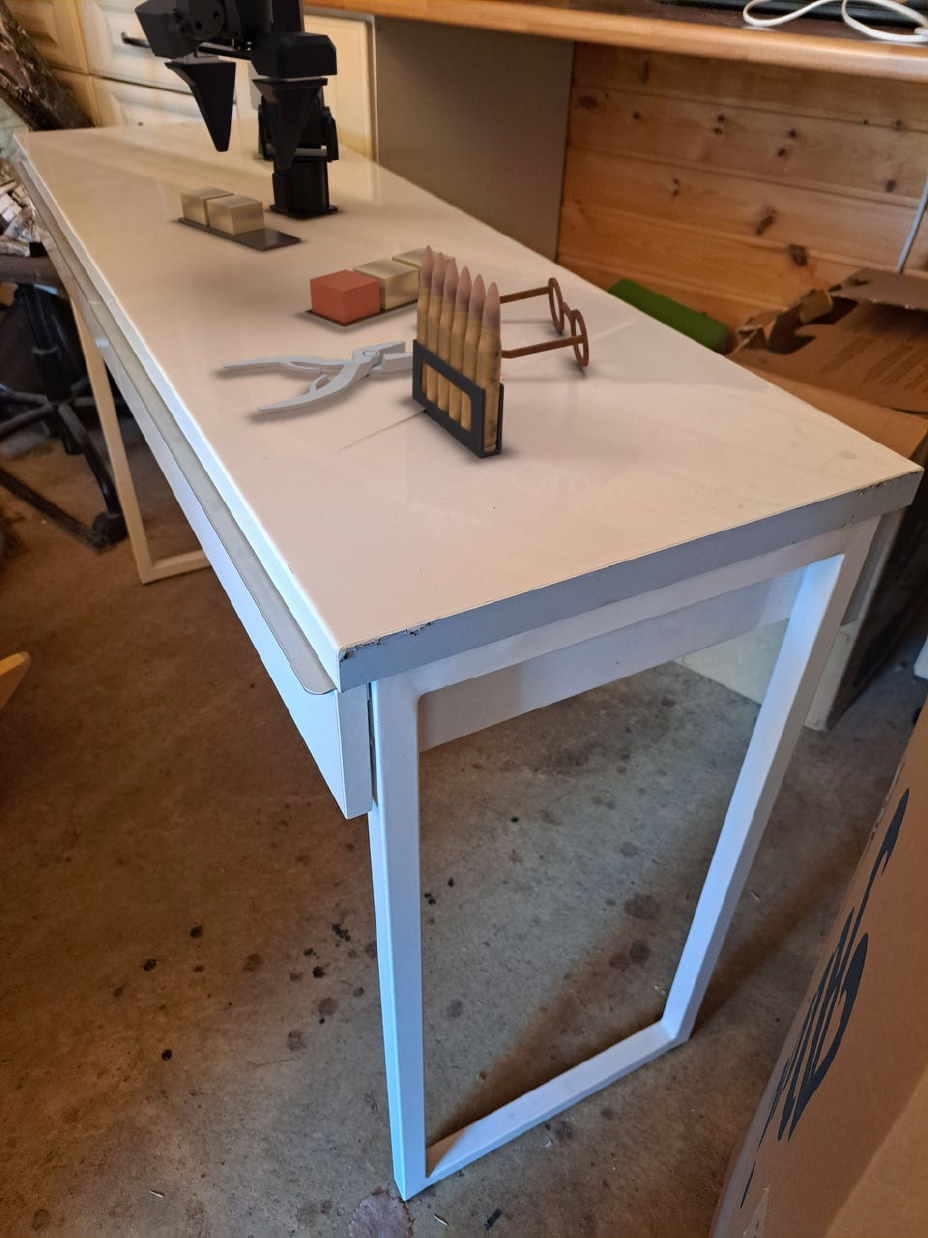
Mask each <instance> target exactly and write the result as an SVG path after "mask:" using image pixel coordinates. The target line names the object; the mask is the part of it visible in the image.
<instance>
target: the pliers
mask: <svg viewBox="0 0 928 1238" xmlns="http://www.w3.org/2000/svg"><path fill="white" fill-rule="evenodd" d="M351 351H352V358H345V359H344V358H328V357H323V356H313V355H277V356H265V357H263V356H262V357H256V358H255V357H254V358H248V359H243V360H239V361H233V362H230V363H225V364H223V366H222V367H223V370H224V371H225V372H230V371H237V370H239V371H240V370H247V369H257V368H271V367H280V368H284V369H288V370H289V371H293V372H297V373H301V374H311V375H320V374H321V369H322V370H340V371H339V373H338V374H337V375H336V376H335V377H334V378H333V379H332V380H331V381H329V382H328V383H327V384H325V385H324V386H322V387H320V388H318V386H320V385H321V384H322V383H324V382H325V381H327V380H328V375H327V374H322V375H320V376H319V377H317V378H316V379H314V380H313V381H312V383H311V384H310V388H309V391H308V393H305V394H302V395H300V396H297V397H293V398H290V399H286V400H282V401H279V402H275V403H274V402H273V403H271V404H267V405H262V406H257V412H258V413H259V415H267V414H277V413H282V412H283V413H284V412H288V411H293V410H297V409H303V408H306V407H310V406H314V405H316V404H319V403H322V402H325V401H327V400H330V399H332V398H334V397H337V396H339V395H341V394H342V393H344V392H345V391H347V390H348V389H349V387H351V386H352V384H354V383H356V382H358V381H360V380H361V379H364V378H365V377H366V376H369V375H371V376H372V375H384V374H389V373H396V372H405V371H410V370H412V366H413V352H406V341H404V340H402V339H398V340H393V341H388V342H382V343H377V344H373V345H366V346H364V347H361V348H357V349H353V350H351ZM317 388H318V389H317Z"/></svg>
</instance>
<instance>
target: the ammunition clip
mask: <svg viewBox="0 0 928 1238" xmlns="http://www.w3.org/2000/svg"><path fill="white" fill-rule="evenodd" d="M431 247H432V246H431V245H430V244H427V245H426V247H425V251H424V254H423V258H422V263H421V271H420V286H419V299H418V303H416V304H417V305H416V338H414V339H412V353H413V366H412V369H411V371H412V372H411V373H412V374H411V375H412V376H411V398H412V399H413V400H414V401H415V402H417V403H418V404H419V405H420V406H422V408H424V409H423V410H422V411H423V412H424V413H425V414H426V415H427V416H428V417H430V418H431V419H432V420H433V421H434V422H436V423H437V424H439V426H441V427H442V428H443V429H444V430H445V431H446V432H448V433H449V434H450V435H451V436H452V437H454V438H455V439H456V440H457V441H458V442H460V443H461V444H462V445H464V447H466V448H467V449H468V450H469V451H470V452H471V453H473V454H474V455H475V456H477V457H478V458H480V459H481V458H484V457H488V456H492V455H497V454H500V453H502V451H503V450H502V448H503V425H504V400H505V399H504V398H505V385H504V383H502V382H501V372H502V358H501V357H502V350H503V347H502V339H501V333H502V331H501V328H502V327H501V315H502V313H501V310H502V309H501V304H500V298H499V296H500V293H499V290H498V286H497V283H496V282H495V281H492V282H491V283H490V285H489V287H488V290H487V292H486V287H485V283H484V278H483V276H482V274H481V273H477V275H476V277H475V278H474V281H473V283H472V277H471V273H470V270H469V267H468V266H467V265H465V266H463V267H462V269H461V272H460V274H459V270H458V265H457V263H456V259H455V260H454V259H451V261H450V263H449V265H448V268H446V263H445V259H444V256H443V254H444V253H443V252H442V251H438V252H439V253H438V255H437V257H436V260H435V261H434V256H433V252H432V251H433V249H432V248H431Z"/></svg>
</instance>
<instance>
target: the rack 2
mask: <svg viewBox="0 0 928 1238" xmlns="http://www.w3.org/2000/svg"><path fill="white" fill-rule="evenodd" d="M425 249H426V247H421V248H417V249H414V250H410V251H406V252H403V253H400V254H396V255H392V256H391V259H390V258H381V259H378V260H376V261H370V262H368V263H364V264H360V265H357V266H353V267H352V268H351V269H352V272H355V273H358V274H361V275H364V276H367V277H370V278H373V279H376V280H379V301H380V312H379V313H376V314H373V315H370V316H366V317H363V318H360V319H357V320H354V321H351V322H348V323H345V324H344V323H341V322H339V321H336V320H334V319H331V318H328V317H326V316H323V315H321V314H318V313H315V312H313V311H312V308H311V309H308V310H305V311H304V313H306V314H309V315H311V316H314V317H317V318H319V319H322V320H324V321H327V322H329V323H331V324H335V325H336V326H339V327H342V328H347V327H349V326H352V325H355V324H358V323H361V322H364V321H368V320H371V319H373V318H377V317H380V316H383V315H385V314H388V313H391V312H395V311H397V310H400V309H403V308H407V307H410V306H413V305H415V304H418V299H419V286H420V271H421V263H422V258H423V254H424V251H425ZM432 252H433V256H434V261H435V260H436V257H437V255H438V253H439V252H440V251H435V250H432ZM442 254H443V256H444V259H445V263H446V268H448V265H449V263H450V261H451V259H454V260H455V261H456V257H454V256H451V255H448V254H445V253H442Z"/></svg>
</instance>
